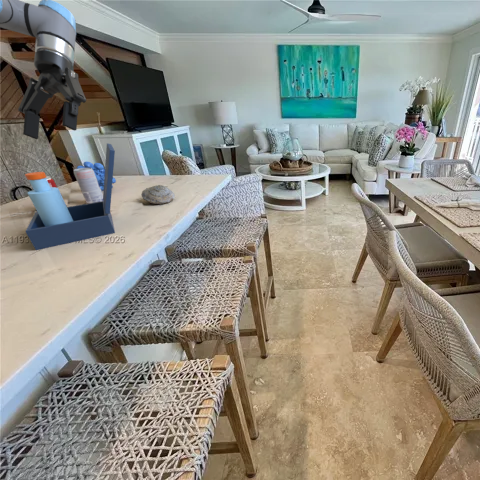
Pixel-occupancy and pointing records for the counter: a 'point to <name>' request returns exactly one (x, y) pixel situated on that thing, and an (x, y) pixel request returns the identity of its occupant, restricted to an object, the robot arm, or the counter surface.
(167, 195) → the fossilized seashell
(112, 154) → the lid
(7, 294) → the counter surface
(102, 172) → the grapes
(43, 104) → the robot arm
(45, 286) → the counter surface
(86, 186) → the energy drink
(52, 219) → the water bottle
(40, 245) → the navy blue open box
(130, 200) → the counter surface
